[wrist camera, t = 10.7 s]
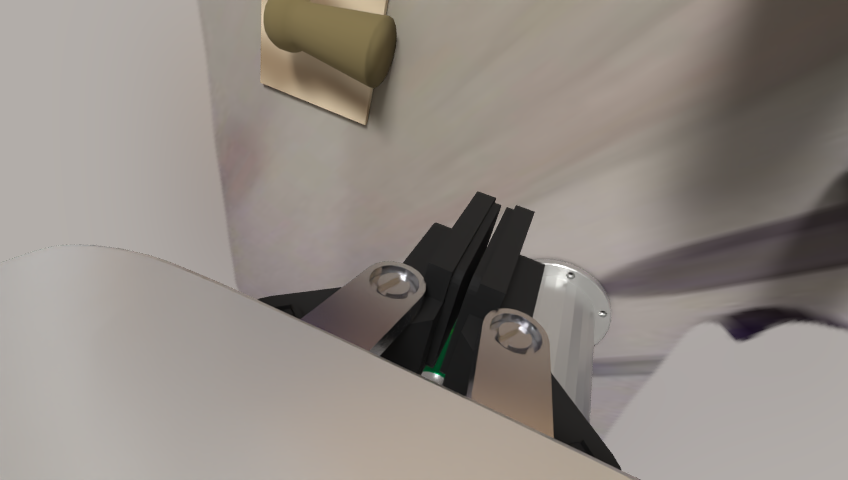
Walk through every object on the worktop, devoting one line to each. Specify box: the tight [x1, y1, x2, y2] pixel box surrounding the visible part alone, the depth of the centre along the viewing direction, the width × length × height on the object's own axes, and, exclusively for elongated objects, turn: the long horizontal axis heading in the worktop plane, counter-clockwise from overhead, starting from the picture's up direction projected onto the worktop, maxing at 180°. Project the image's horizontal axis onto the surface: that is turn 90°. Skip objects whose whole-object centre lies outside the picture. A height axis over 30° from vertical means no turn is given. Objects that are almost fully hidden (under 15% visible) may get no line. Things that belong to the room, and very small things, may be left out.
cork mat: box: [261, 0, 388, 125], centre depth 39 cm, size 18×13×1 cm
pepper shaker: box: [263, 0, 397, 88], centre depth 37 cm, size 6×6×11 cm
